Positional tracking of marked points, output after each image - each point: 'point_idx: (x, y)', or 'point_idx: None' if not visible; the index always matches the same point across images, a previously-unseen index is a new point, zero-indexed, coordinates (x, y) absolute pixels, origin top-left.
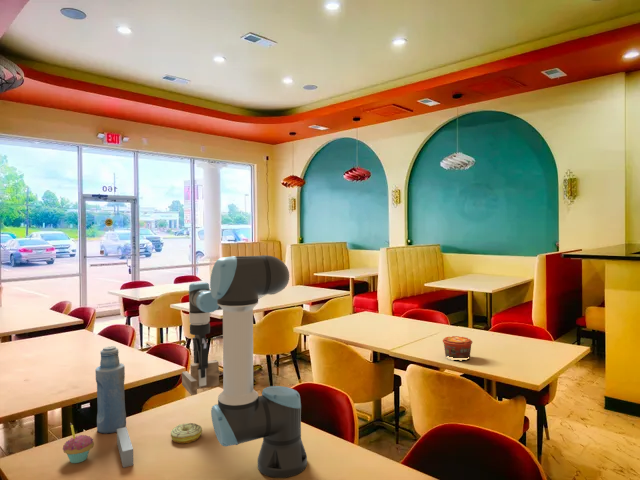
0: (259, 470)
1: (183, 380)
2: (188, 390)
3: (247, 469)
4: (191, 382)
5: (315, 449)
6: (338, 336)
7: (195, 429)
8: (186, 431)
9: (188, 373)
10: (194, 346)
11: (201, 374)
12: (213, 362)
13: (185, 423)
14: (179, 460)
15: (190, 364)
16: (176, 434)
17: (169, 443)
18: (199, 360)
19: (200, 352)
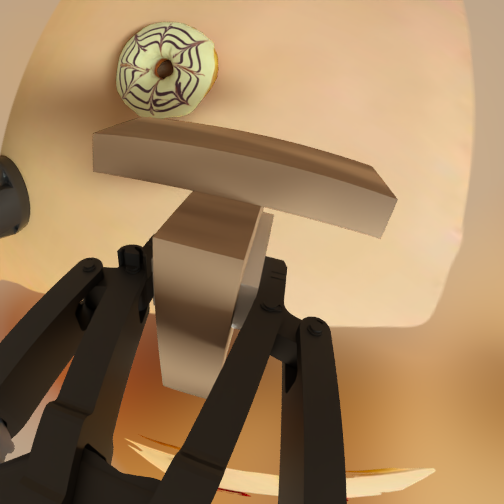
0: (2, 156)
1: (337, 164)
2: (202, 125)
3: (10, 142)
4: (97, 133)
5: (29, 254)
6: (376, 476)
7: (125, 90)
8: (128, 61)
9: (309, 211)
10: (202, 495)
11: (149, 244)
12: (162, 369)
13: (195, 78)
14: (79, 31)
15: (243, 258)
16: (142, 33)
17: (170, 18)
18: (99, 317)
19: (67, 393)
